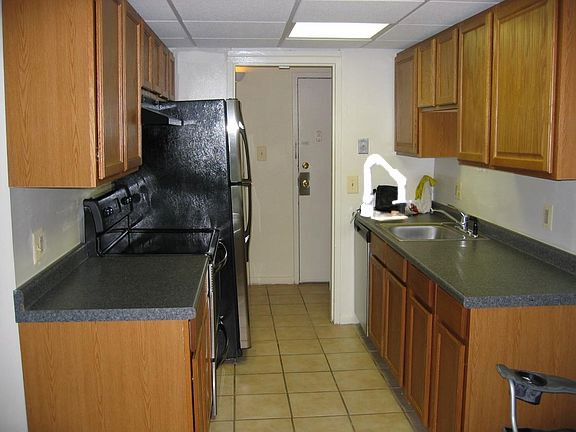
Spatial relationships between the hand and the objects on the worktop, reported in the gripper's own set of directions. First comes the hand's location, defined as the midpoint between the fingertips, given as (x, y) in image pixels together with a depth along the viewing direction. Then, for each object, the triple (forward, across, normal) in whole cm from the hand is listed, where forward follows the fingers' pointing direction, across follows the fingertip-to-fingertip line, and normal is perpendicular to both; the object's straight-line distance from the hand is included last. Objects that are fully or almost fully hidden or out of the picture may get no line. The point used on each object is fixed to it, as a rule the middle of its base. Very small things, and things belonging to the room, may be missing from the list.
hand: (401, 213), depth 444 cm
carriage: (+1, -6, -2) cm, 6 cm away
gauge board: (+2, -12, -2) cm, 12 cm away
